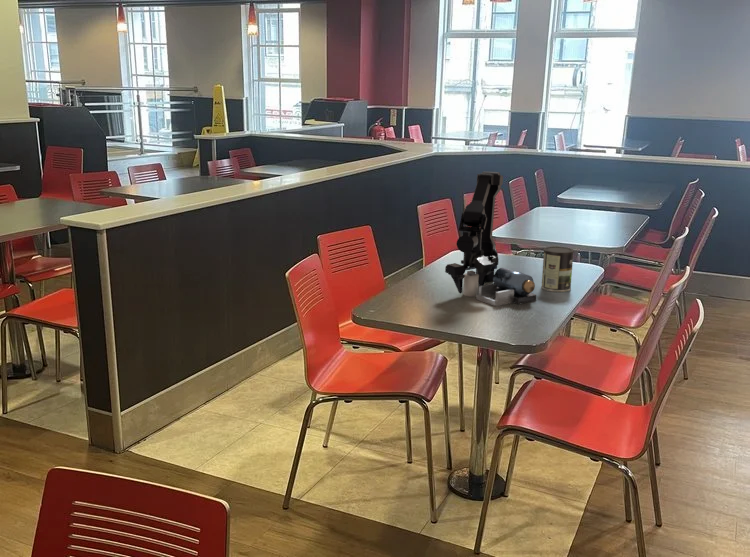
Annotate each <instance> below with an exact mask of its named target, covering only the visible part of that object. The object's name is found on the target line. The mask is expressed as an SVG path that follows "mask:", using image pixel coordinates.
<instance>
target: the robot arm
mask: <svg viewBox="0 0 750 557" xmlns="http://www.w3.org/2000/svg"><path fill="white" fill-rule="evenodd" d="M503 182H504V176H503V175H502V174H501V172H500V171H498V172H497V171H482V172H481V173H477V176H476V186H475V189H474V192H473V196H472V200H471V202H470V203H469V204H467V205H466V206H465V208H464V210H463V212H462V213H461V217H460V221H459V226H458V231H459V232H462V235H461V236H459V237H458V239H457V241H456V247H457V249H458V250H459V252H462V253H463V259H461V260H460V264H458V263H456V262H455V263H447V264H446V266H445V271H444V272H445V273H446V274H448V275H449V276H451V278H452V280H453V282H454V285H455V287H456V290H457V291H458V294H463V284H464V277H465V275H464V274H466V271H472V270H475V272H476V273H475V274H478V275H479V279H478V287H479V286H483V285H485V283H489V282H492V281H493V278H494V274H495V270H498V265H499V259H500V258H499V253H498V250H497V249H496V246H497V245H496V242H495V241H494V238H493V229H494V219H495V218H494V217H495V207H496V206H495V205H496V196H498V195H499V193H500V191H501V190H502V189H501V187H502V186H503V184H504V183H503Z"/></svg>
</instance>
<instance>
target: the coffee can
mask: <svg viewBox="0 0 750 557" xmlns="http://www.w3.org/2000/svg"><path fill="white" fill-rule="evenodd" d="M574 253H575V250H574V249H572V248H570V247H565V246H546V247H544V248H543V257H542V258H543V260H542V276H541V289H542V290H544V291H548V292H553V293H564V292H565V293H566V292H569V291H571V289H572V288H571V287H572V276H573V274H572V273H573V262H574Z"/></svg>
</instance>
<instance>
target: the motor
mask: <svg viewBox="0 0 750 557" xmlns="http://www.w3.org/2000/svg"><path fill="white" fill-rule="evenodd" d="M534 281H535V280H534V278H533V276H531V275H529V274H525V273H522V272H520V271H519V272H518V271H515V270H513V269H509V268H505V267H499V268H497V269H496V271H494V278H493V283H489V284H484V285H483V286H479V285H478V294H477V295H476V296H475V299H476V300H478V301H480V302H483V303H486V304H488V305H491V306H493V307H499V306H504V305H509V304H512V302H515V303H514V304H516V303H517V304H516V305H521V304H520V303H522V304H526V303H530V302H535V300H536V301H537V294H534V293H532V292H534V290H535V288H536V284H535V282H534ZM493 298H494V299H493ZM508 303H509V304H508Z"/></svg>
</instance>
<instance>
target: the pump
mask: <svg viewBox="0 0 750 557" xmlns="http://www.w3.org/2000/svg"><path fill="white" fill-rule="evenodd" d="M463 275H465V277H464V278H463V285H462V295H463V296H464V297H467V298H468V297H470V298H471V297H473V298H474V296H475V297H476V295H477V294H479V283H478V279H479V275H478V274H476V270H466V272H465V273H464V274H463Z"/></svg>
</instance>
